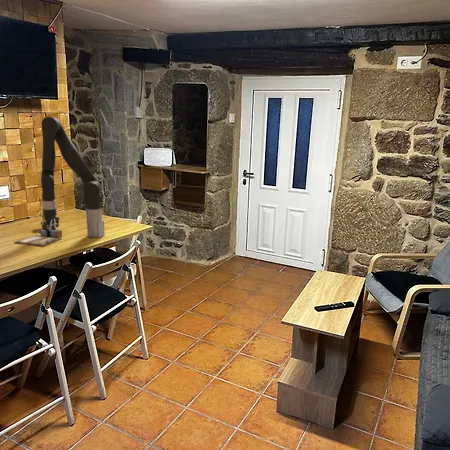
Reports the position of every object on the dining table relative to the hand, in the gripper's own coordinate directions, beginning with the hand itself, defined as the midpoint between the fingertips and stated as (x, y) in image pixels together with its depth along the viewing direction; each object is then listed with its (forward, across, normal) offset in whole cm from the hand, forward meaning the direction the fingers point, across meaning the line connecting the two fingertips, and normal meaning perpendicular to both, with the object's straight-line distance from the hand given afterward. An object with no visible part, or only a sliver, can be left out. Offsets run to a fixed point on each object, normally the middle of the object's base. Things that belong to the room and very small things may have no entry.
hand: (51, 235), depth 252 cm
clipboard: (+1, -10, +1) cm, 10 cm away
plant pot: (+1, +17, +15) cm, 23 cm away
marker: (+1, 0, +1) cm, 1 cm away
